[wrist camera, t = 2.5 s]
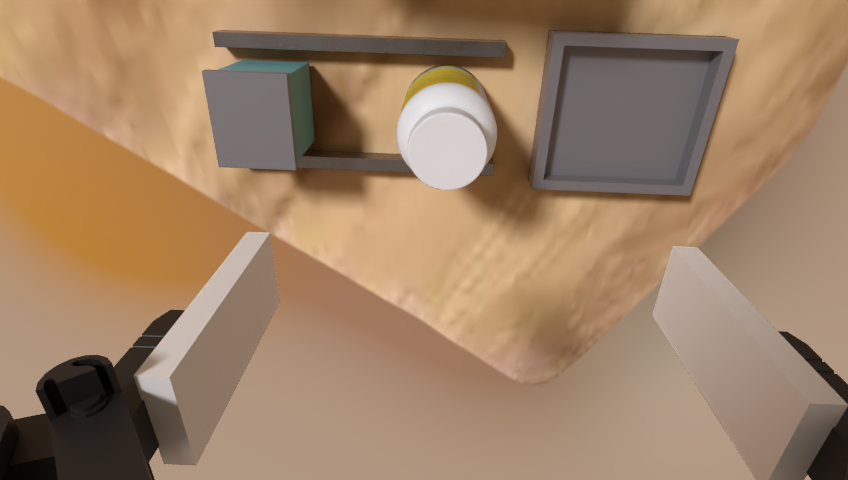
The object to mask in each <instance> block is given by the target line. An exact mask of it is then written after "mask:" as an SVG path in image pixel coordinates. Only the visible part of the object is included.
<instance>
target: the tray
mask: <svg viewBox="0 0 848 480" xmlns="http://www.w3.org/2000/svg"><path fill="white" fill-rule="evenodd" d="M738 41H739V39H735V38H730V37H725V36H699V35H671V34H643V33H616V32H588V31H560V30H549V34H548V42H547V49H546V56H545V63H544V70H543V77H542V85H541V92H540V99H539V106H538V113H537V120H536V127H535V135H534V142H533V149H532V156H531V163H530V170H529V177H528V181H529V183H530V186H531V188H532V189H542V190H566V191H590V192H614V193H638V194H662V195H686V196H690V195H691V191H692V188H693V185H694V182H695V179H696V175H697V172H698V169H699V166H700V163H701V159H702V156H703V153H704V150H705V147H706V143H707V140H708V137H709V134H710V131H711V127H712V124H713V121H714V118H715V115H716V111H717V108H718V105H719V102H720V99H721V95H722V92H723V89H724V86H725V83H726V79H727V76H728V73H729V70H730V67H731V63H732V60H733V57H734V54H735V51H736V48H737V44H738Z"/></svg>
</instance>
